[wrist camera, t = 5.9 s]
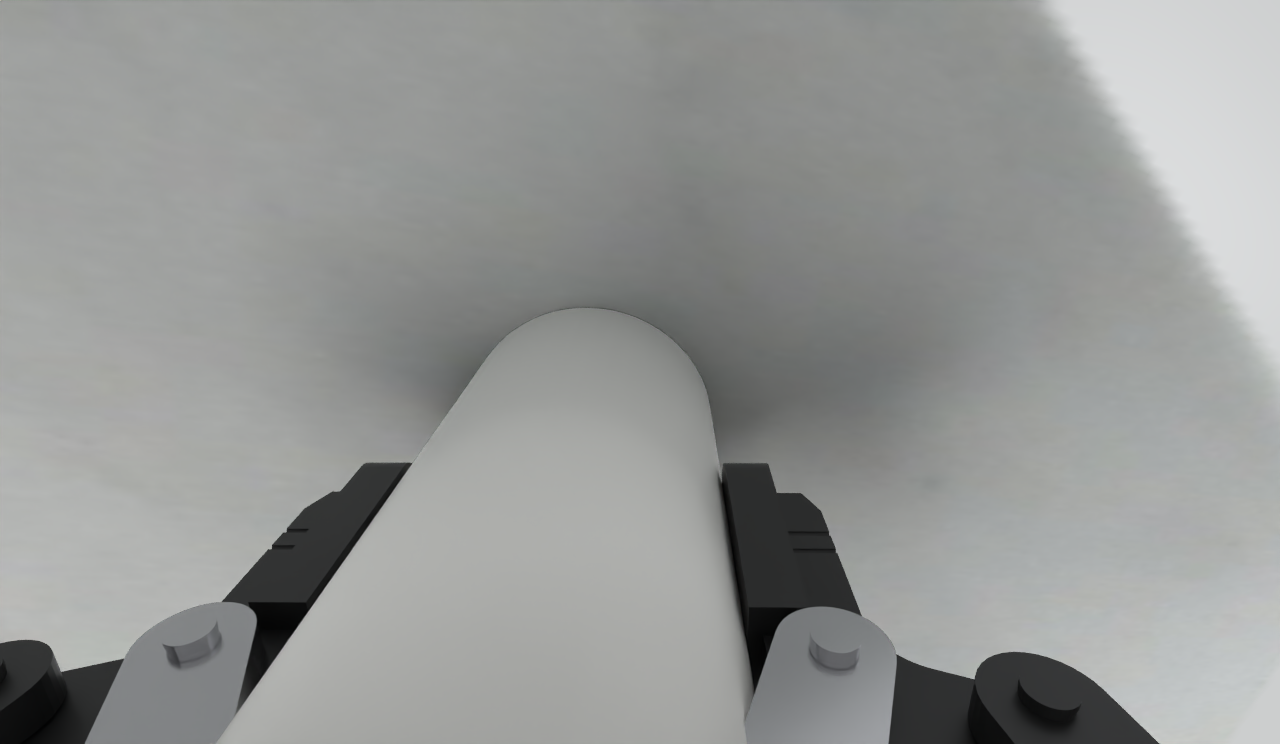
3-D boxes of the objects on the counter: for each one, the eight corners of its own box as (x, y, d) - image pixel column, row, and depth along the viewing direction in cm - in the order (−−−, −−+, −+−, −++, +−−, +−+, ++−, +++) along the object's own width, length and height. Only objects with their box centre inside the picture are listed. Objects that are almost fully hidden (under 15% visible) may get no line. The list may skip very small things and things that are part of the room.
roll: (457, 309, 14) (-432, 1179, 3) (713, 306, 14) (949, 1236, 2) (482, 526, 16) (27, 1584, 4) (709, 527, 16) (827, 1629, 4)
